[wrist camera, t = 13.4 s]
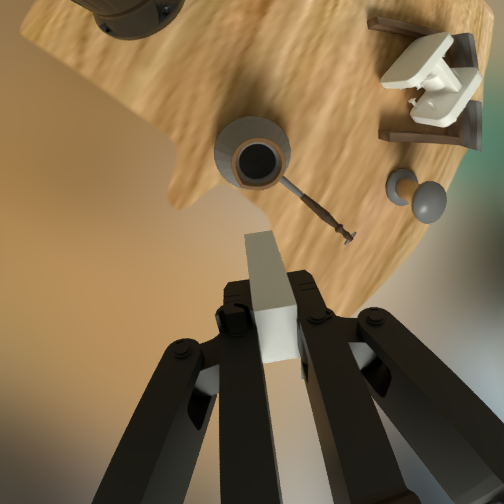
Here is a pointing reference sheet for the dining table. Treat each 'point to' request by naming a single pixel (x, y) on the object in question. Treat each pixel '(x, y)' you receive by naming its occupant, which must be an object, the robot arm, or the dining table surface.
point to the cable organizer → (433, 80)
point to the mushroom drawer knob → (416, 195)
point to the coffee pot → (261, 160)
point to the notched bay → (457, 56)
